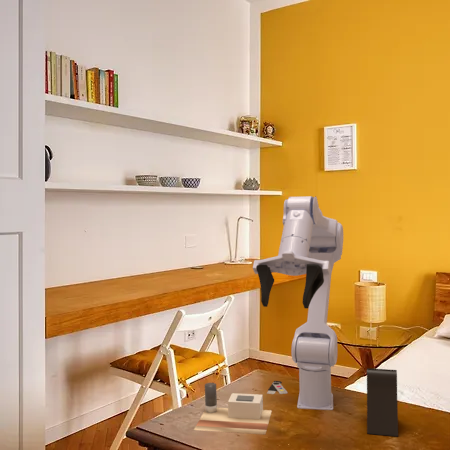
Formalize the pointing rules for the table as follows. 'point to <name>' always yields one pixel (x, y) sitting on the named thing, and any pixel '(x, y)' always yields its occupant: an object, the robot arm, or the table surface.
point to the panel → (233, 423)
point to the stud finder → (245, 406)
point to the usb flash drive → (276, 388)
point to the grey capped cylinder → (210, 398)
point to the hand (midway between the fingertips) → (284, 304)
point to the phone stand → (382, 402)
